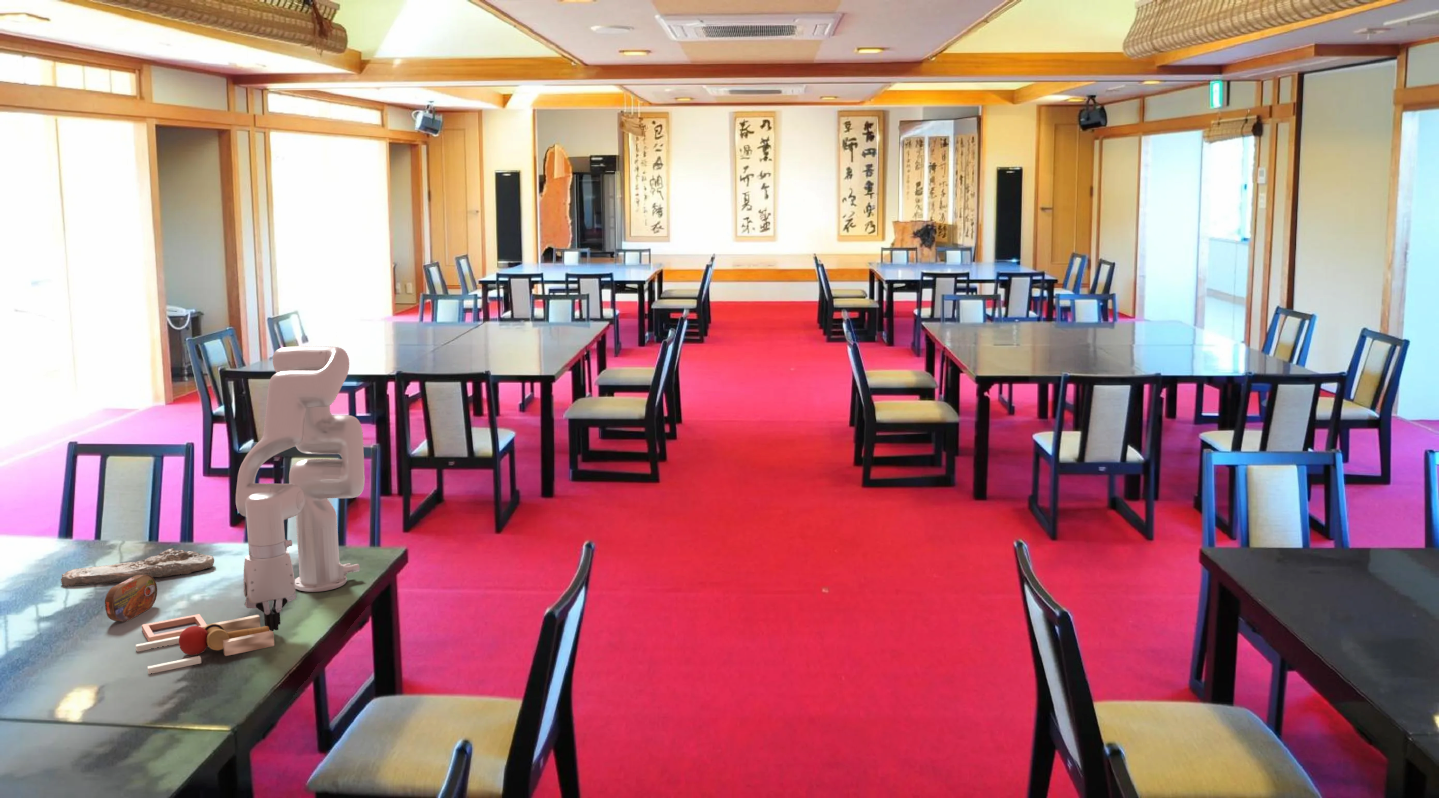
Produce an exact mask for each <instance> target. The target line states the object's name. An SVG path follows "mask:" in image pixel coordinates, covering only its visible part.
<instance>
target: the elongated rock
mask: <svg viewBox="0 0 1439 798" xmlns="http://www.w3.org/2000/svg"><path fill="white" fill-rule="evenodd" d="M214 565H215V558H214V556H213V555H209V554H203V553H199V552H196V551H190V550H189V551H185V550H182V549H181V550H180V549H179V550H175V548H173V547H172V548H168V549H166V550H163V551H162V552H159V553H158V555H151V556H149V557H147V558H146V559H142V560H138V561H133V562H132V561H129V562H120V563H115V564H114V563H113V564H105V565H99V566H90V567H80V568H77V567H76V568H73V569H71V570H68V571H65V573H62V574H61V578H60V581H61V582H60V583H61V585H62V586H64V587H74V586H83V585H84V586H85V585H86V586H87V585H98V584H110V583H122V582H124V581H126V580H128V579H130V578H132V577H134V576H136V575H150V576H152V577H153V578H163V577H164V578H167V577H172V576H177V575H179V576H180V574H181V575H189V573H190V574H192V573H193V572H198V571H203V570H205V569H209V568H213V566H214Z"/></svg>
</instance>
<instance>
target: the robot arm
mask: <svg viewBox="0 0 1439 798" xmlns="http://www.w3.org/2000/svg"><path fill="white" fill-rule="evenodd" d="M272 365H273V366H272V367H273V368H274V371H275V373H274V374H273V375H272V376H271V377H270V379H269V382H268V387H267V398H266V408H265V415H264V416H265V417H264V418H265V419H264V425H263V427H264V428H263V434H262V437H261V439H260V440H259V441H258V442H257V443H256V444H255V445H254V446H252V447H251V449H250V450H249V451H248V452H247V454H246V455H245V457H244V458H243V461H242V462H241V464H240V467H239V470H238V473H237V479H236V480H237V482H236V489H235V505H236V509H237V512H238V513H239V514H240V515H241V516H243V517H245V519H246V529H247V547H248V555H246V556H245V557H244V562H243V564H244V565H243V596H244V598H245V602H244V607H246V609H258V610H259V611H260V612H262V613H263V618H264V619H263V620H264V626H268V627H269V631H272V632H274V631H279V625H281V612H282V609H283V608H284V607H285V606H286V604H288V603H289V602H291V601H294V600H296V599H297V593H296V590H298V591H300V592H301V591H302V592H307V593H314V592H315V593H316V592H327V591H331V590H335V589H338V588H341V587H342V586H344V585H346V583H347V581H348V578H347V575H348V574H349V573H356V572H357V573H358V572H360V564H359V563H355V564H352V563H350V562H348V563H344V564H342V563H341V562H340V551H339V548H340V547H339V533H338V532H339V531H338V515H337V512H336V509H335V508H334V505H333V504H332V503H331V502H330V501H329V500H328V499H353V498H357V497H359V496H360V495H361V494H362V493H363V491H364V488H365V481H366V480H365V455H364V435H363V433H364V432H363V428H362V424H361V422H360V420H359V419H358V418H357V417H355V416H353V415H350V414H332V413H331V407H330V406H331V405H332V404H333V403H334V402H335V400H336V398H337V396H338V394H339V393H340V392H341V389H342V387H343V385H344V383H345V381H346V379H347V378H348V375H349V374H348V373H349V370H350V359H349V355H348V353H347V351H346V350H344V349H343V348H342V347H339V346H306V345H305V346H304V345H301V346H295V345H294V346H285V347H284V346H283V347H280V348H278V349H276V350H275V351H274V353H273V354H272ZM294 447H295V448H296V449H297V450H298V451H299V452H300V453H302V454H307V455H339V456H340V457H341V458H338V459H337V458H331V459H330V458H307V459H301V460H299V461H296V462H295V463H294V464H293V465H292V467H290V470H289V474H288V482H289V483H269V482H268V483H267V482H266V483H263V482H262V483H259V482H258V483H256V476H257V474H258V471H259V469H260V468H261V467H262V466H263V464H264V463H265V462H267V461H268V460H270V459H271V458H272V457H274V456H276V455H279V454H280V453H282V452H285V451H287V450H289V449H291V448H294ZM294 517H295V523H296V524H295V525H296V542H297V556H298V569H299V570H298V572H299V576H298V577H296V578H295V573H294V568H293V563H292V559H291V555H290V552H289V550H287V549H288V548H289V547H292V546H293V541H292V539H286V535H285V520H288V519H291V518H294ZM270 601H272V608H270V604H269V602H270Z"/></svg>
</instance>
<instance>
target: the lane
mask: <svg viewBox="0 0 1439 798" xmlns="http://www.w3.org/2000/svg"><path fill="white" fill-rule="evenodd" d="M260 617H261V616H260V615H259V614H254V615H249V616H245V617H239V618H234V619H229V620H228V619H227V620H223V621H219V622H214V623H215V624H219V625H220V626H222V627H223V629H224V631H226V632H231V631H236V630H243V629H250V628H251V629H252V628H258V627H261V618H260ZM274 637H275V636H274V631H270V630H269V631H267V632H262V633H257V634H252V635H247V636H242V637H237V638H232V639H227V640H223V649H222V650H223V655H224V656H225V657H228V656H231V655H239V654H242V653H246V652H251V651H256V650H261V649H265V648H271V647H275V638H274Z"/></svg>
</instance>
